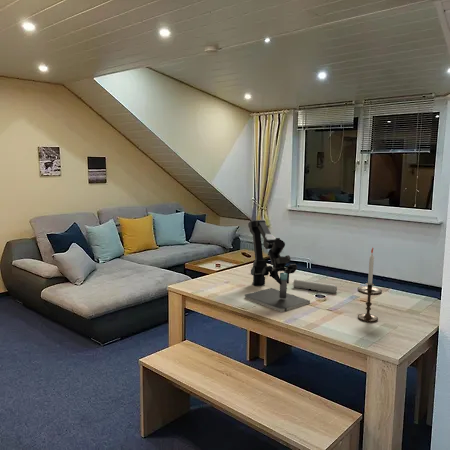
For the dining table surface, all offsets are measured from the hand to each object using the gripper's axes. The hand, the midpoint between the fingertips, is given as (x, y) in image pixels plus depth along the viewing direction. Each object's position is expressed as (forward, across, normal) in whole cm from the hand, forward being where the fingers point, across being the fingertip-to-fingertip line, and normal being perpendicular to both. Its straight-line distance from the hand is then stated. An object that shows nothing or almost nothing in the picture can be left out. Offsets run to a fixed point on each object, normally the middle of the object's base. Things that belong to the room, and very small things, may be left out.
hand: (284, 283), depth 218 cm
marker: (+5, 0, +6) cm, 8 cm away
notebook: (+4, -2, +12) cm, 13 cm away
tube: (-3, +28, +19) cm, 34 cm away
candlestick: (+30, +28, -15) cm, 44 cm away
